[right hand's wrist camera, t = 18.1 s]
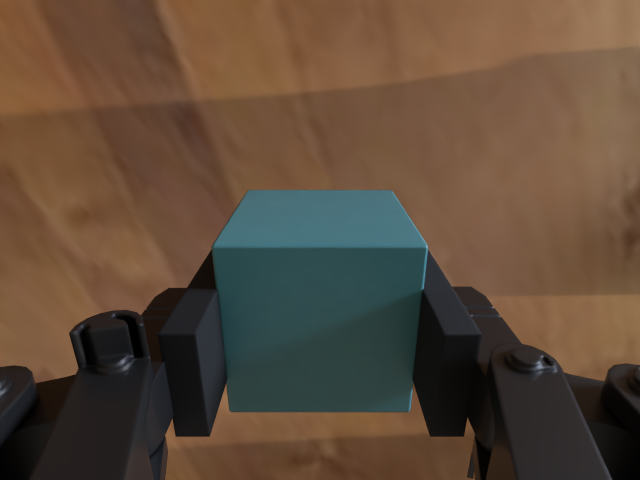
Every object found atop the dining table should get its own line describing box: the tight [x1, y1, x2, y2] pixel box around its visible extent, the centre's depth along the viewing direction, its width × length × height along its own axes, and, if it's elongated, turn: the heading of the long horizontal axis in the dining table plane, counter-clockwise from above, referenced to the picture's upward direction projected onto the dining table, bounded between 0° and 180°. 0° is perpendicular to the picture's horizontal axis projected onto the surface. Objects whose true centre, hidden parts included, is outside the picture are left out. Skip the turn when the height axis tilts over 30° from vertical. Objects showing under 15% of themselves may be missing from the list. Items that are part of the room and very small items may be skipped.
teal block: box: [212, 190, 428, 412], centre depth 12 cm, size 5×5×5 cm
